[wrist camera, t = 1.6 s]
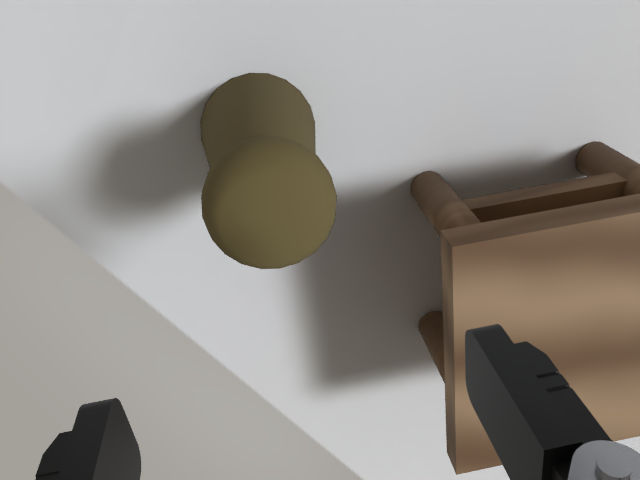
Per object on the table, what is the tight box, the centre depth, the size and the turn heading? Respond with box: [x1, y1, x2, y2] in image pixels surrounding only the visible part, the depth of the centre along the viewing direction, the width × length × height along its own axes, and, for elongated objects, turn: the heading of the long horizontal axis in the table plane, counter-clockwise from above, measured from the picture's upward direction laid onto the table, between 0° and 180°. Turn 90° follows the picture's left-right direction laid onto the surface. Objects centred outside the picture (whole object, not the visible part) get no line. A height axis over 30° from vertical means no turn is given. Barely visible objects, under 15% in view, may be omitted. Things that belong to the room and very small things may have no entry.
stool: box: [411, 142, 640, 475], centre depth 32 cm, size 14×14×10 cm
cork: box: [201, 73, 337, 269], centre depth 26 cm, size 6×6×11 cm
